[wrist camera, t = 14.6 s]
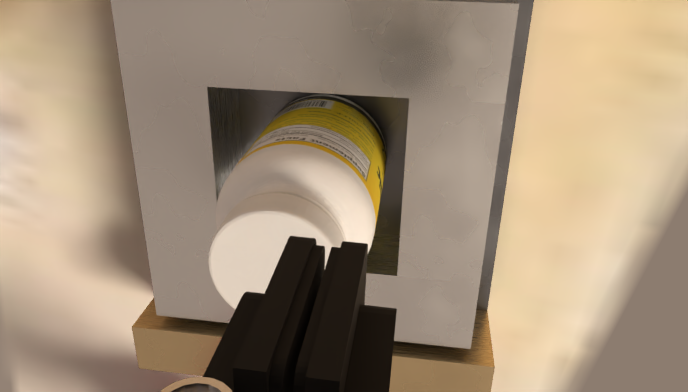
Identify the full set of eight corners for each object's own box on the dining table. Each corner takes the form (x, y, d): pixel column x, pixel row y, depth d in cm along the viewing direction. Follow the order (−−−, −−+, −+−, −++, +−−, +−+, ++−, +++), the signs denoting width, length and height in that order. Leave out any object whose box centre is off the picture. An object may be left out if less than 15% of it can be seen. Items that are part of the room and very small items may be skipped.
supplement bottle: (346, 227, 27) (303, 375, 18) (246, 164, 26) (151, 285, 18) (414, 137, 25) (402, 256, 16) (306, 65, 24) (231, 148, 15)
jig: (130, -103, 23) (57, -109, 19) (543, -97, 21) (572, -102, 17) (181, 308, 32) (139, 371, 27) (479, 339, 30) (486, 413, 25)
